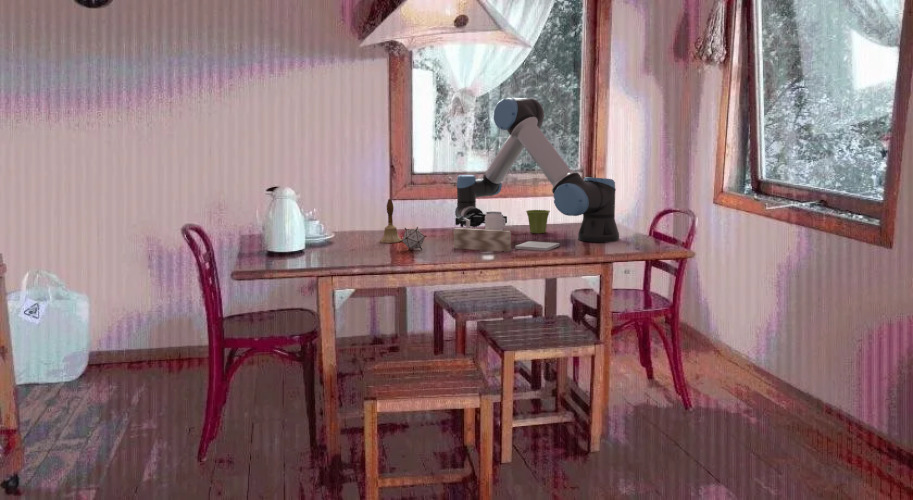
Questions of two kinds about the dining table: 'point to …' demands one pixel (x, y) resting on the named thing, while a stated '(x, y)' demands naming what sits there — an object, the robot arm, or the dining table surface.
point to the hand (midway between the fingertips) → (486, 223)
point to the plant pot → (537, 220)
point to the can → (494, 221)
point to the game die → (413, 238)
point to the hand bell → (390, 227)
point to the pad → (537, 246)
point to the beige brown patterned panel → (482, 239)
